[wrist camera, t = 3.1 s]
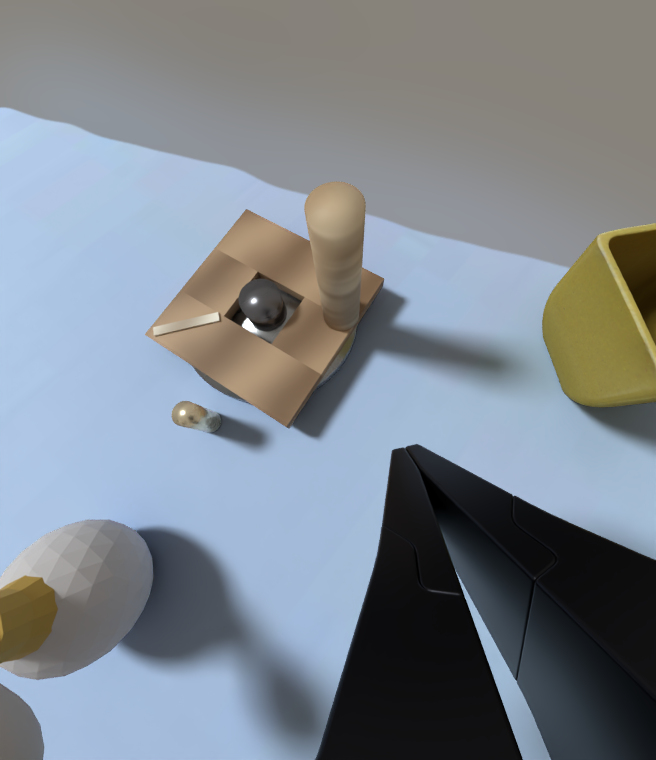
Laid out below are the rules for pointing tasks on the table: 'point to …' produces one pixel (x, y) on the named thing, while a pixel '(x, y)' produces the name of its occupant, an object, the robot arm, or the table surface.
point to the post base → (264, 319)
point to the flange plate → (292, 275)
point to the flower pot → (607, 321)
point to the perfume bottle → (66, 613)
